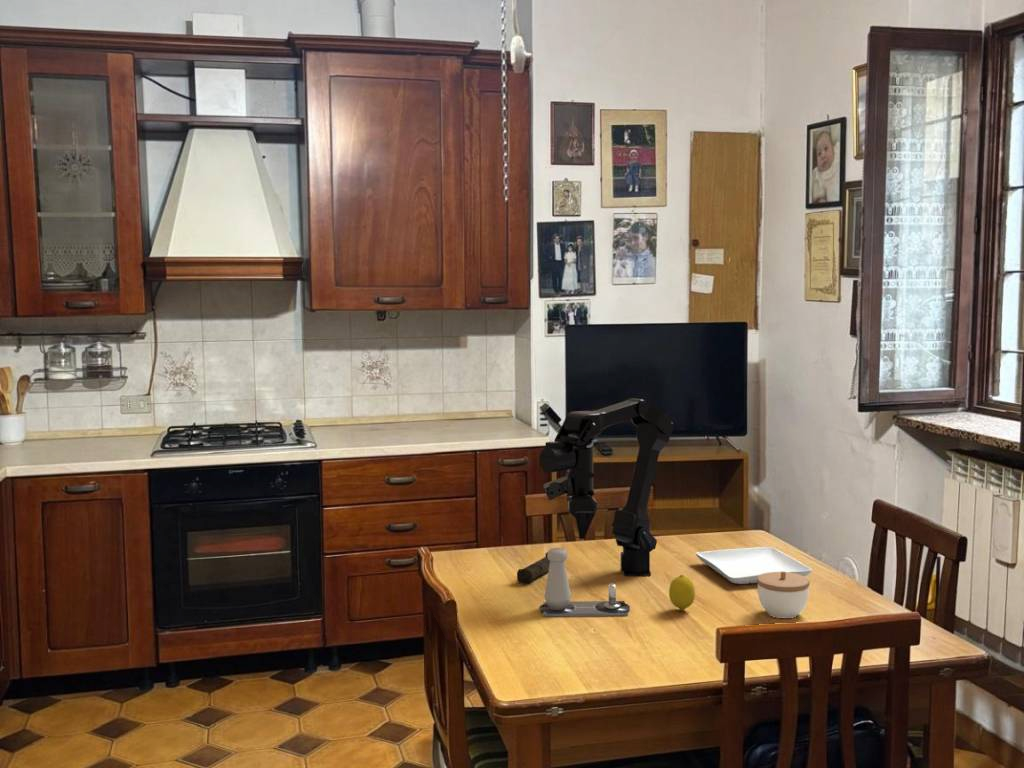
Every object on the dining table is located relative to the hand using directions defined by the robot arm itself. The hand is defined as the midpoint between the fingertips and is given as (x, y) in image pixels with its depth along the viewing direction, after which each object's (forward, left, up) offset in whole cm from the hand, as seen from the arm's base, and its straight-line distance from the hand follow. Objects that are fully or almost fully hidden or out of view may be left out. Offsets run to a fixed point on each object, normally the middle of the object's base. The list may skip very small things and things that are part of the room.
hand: (580, 533), depth 239 cm
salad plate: (-42, -11, -14) cm, 45 cm away
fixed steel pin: (-6, +15, -13) cm, 21 cm away
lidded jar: (-42, +19, -13) cm, 48 cm away
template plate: (0, +15, -13) cm, 20 cm away
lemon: (-21, +16, -13) cm, 30 cm away
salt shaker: (+6, +15, -13) cm, 20 cm away
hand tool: (+9, -12, -14) cm, 20 cm away
